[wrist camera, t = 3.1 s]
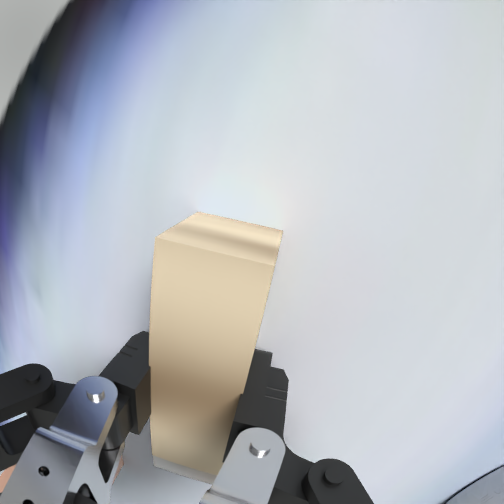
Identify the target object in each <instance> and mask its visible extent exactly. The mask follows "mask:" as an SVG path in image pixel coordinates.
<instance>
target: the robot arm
mask: <svg viewBox="0 0 504 504" xmlns="http://www.w3.org/2000/svg"><path fill="white" fill-rule="evenodd" d="M271 359H272V353H271V352H266V351H262V350H258V349H254V353H253V357H252V361H251V365H250V369H249V373H248V376H247V380H246V384H245V388H244V392H243V394H240V398H239V402H238V405H237V409H236V412H235V416H234V420H233V423H232V427H231V431H230V435H229V438H228V442H227V446H226V450H225V453H224V457H223V461H222V462H223V463H224V464H223V466H222V467H221V469H220V471H219V473H218V475H217V477H216V479H215V481H214V483H213V484H212V486H211V488H210V489H209V490H207V492H206V493H205V494H204V496H203V498H202V499H201V501H200V503H199V504H374V503H373V501H372V500H371V498H370V497H369V495H368V493H367V492H366V490H365V489H364V487H363V485H362V484H361V482H360V480H359V479H358V477H357V476H356V474H355V472H354V471H353V469H352V468H351V467H350V466H349V465H347V464H346V463H344V462H343V461H340V460H337V459H323V460H320V461H318V462H316V463H313V462H310V461H308V460H306V459H303V458H301V457H299V456H297V455H296V454H294V453H293V452H292V451H291V450H290V449H289V448H288V447H287V446H286V444H285V442H284V438H283V431H284V422H285V412H286V400H287V391H288V381H289V380H288V378H287V376H286V374H285V372H284V370H283V369H279V368H274V367H270V365H271ZM25 412H26V414H27V415H26V416H24V417H21V418H19V419H17V420H14V421H12V422H10V423H7V424H5V425H2V426H0V471H2V470H5V469H7V468H9V467H11V466H14V465H16V464H17V465H16V466H15V468H14V470H13V472H12V474H11V476H10V478H9V480H8V482H7V484H6V486H5V488H4V490H3V492H2V493H0V504H110V491H111V486H112V483H113V480H114V476H115V473H116V470H117V467H118V464H119V461H120V459H121V456H122V453H123V450H124V447H125V438H126V437H127V435H128V433H129V432H132V433H135V434H137V435H139V434H140V432H141V431H142V429H143V427H144V425H145V423H146V422H147V420H148V418H149V416H150V415H151V366H149V333H148V332H145V331H142V332H140V333H138V334H136V335H134V336H132V337H131V338H130V340H129V341H128V342H127V343H126V344H125V346H124V347H123V348H122V349H121V350H120V352H119V353H118V354H117V355H116V356H115V357H114V358H113V359H112V361H111V362H110V363H109V364H108V365H107V366H106V368H105V369H104V370H103V371H102V372H101V374H100V375H99V376H90V377H86V378H83V379H81V380H80V381H79V382H77V384H69V383H64V382H60V381H55V380H53V377H52V374H51V372H50V370H49V369H48V368H46V367H45V366H43V365H40V364H27V365H24V366H21V367H19V368H16V369H13V370H11V371H8V372H5V373H3V374H0V423H1V422H3V421H6V420H8V419H10V418H13V417H15V416H17V415H20V414H22V413H25ZM446 504H504V466H503V467H501V468H499V469H497V470H496V471H494V472H492V473H490V474H488V475H487V476H485V477H483V478H482V479H480V480H478V481H476V482H475V483H473V484H472V485H470V486H469V487H467V488H466V489H464V490H463V491H461V492H460V493H458V494H457V495H456V496H454V497H453V498H452V499H450V500H449V501H448V502H447V503H446Z"/></svg>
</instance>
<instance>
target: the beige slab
mask: <svg viewBox="0 0 504 504" xmlns="http://www.w3.org/2000/svg"><path fill="white" fill-rule="evenodd" d="M282 233H283V231H281V230H277V229H273V228H268V227H264V226H260V225H255V224H251V223H246V222H242V221H238V220H233V219H229V218H224V217H219V216H215V215H210V214H206V213H201V212H197V213H195V214H193V215H192V216H190V217H188V218H186V219H185V220H183V221H181V222H180V223H178V224H176V225H175V226H173V227H171V228H170V229H168V230H166V231H165V232H163V233H162V234H160V235H158V236H157V237H155V246H154V258H153V270H152V285H151V303H150V329H149V366H151V415H150V430H151V447H152V455H153V465H154V466H155V467H158V468H161V469H163V470H166V471H169V472H172V473H175V474H178V475H181V476H185V477H188V478H191V479H195V480H198V481H202V482H205V483H209V484H213V483H214V481H215V479H216V477H217V475H218V473H219V471H220V469H221V467H222V466H223V464H224V463H223V462H222V461H223V457H224V453H225V450H226V446H227V442H228V438H229V435H230V431H231V427H232V423H233V420H234V416H235V412H236V409H237V405H238V402H239V398H240V394H243V392H244V388H245V384H246V380H247V376H248V373H249V369H250V365H251V361H252V357H253V353H254V349H255V345H256V341H257V337H258V333H259V329H260V325H261V321H262V317H263V313H264V309H265V305H266V301H267V297H268V293H269V289H270V285H271V280H272V276H273V272H274V268H275V264H276V259H277V255H278V251H279V246H280V242H281V238H282Z"/></svg>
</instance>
